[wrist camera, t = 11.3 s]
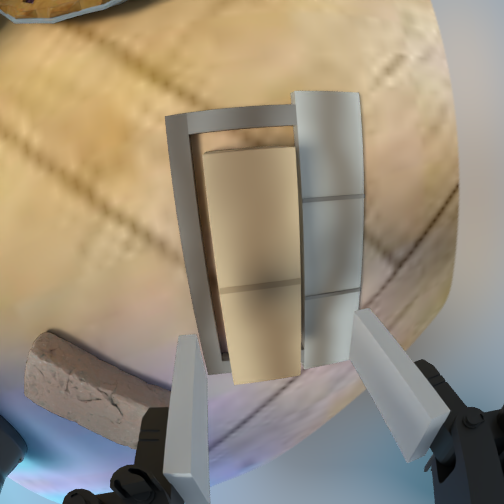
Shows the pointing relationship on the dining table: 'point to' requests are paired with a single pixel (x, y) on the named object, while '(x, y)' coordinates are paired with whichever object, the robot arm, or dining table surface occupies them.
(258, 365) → the plank
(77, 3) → the pie
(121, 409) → the brick
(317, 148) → the floor panel
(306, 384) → the dining table surface
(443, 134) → the dining table surface
